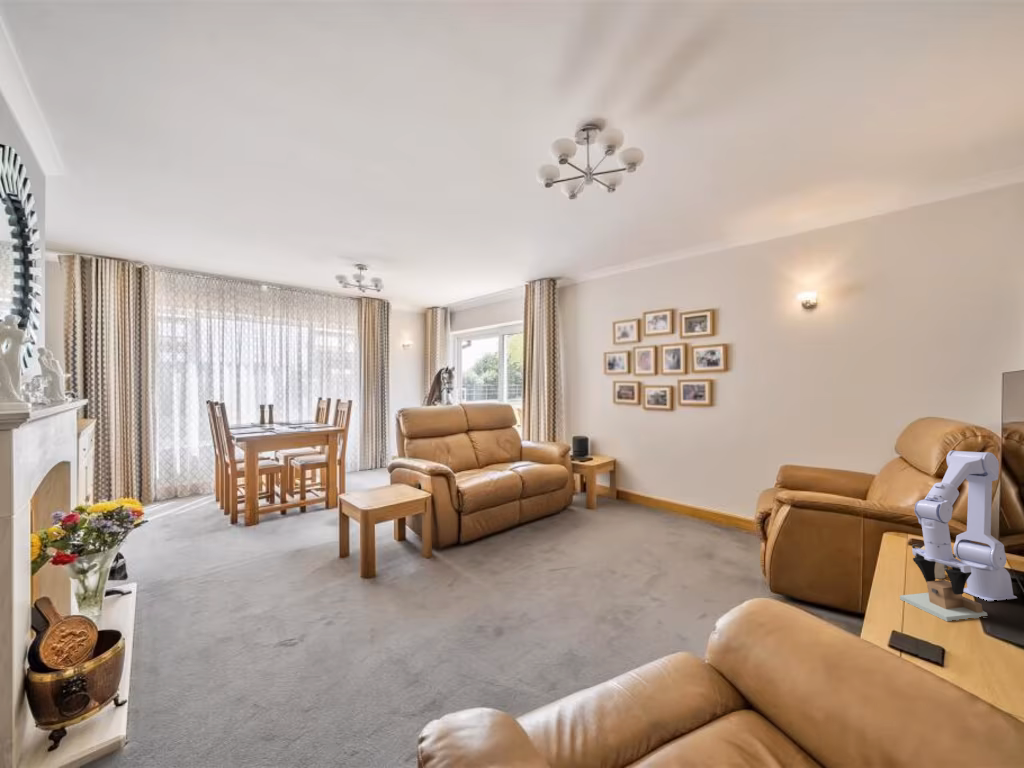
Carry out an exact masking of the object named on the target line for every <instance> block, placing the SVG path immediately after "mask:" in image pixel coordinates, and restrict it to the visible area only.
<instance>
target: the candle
mask: <svg viewBox="0 0 1024 768" xmlns="http://www.w3.org/2000/svg"><path fill="white" fill-rule="evenodd" d="M920 549H923V550H925V544H924V545H923V546H922V548H920ZM945 578H946V571H945V570H944V564H941V563H938V562H936V563H935V580H936V579H939V580H945Z"/></svg>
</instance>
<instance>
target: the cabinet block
mask: <svg viewBox="0 0 1024 768" xmlns="http://www.w3.org/2000/svg"><path fill="white" fill-rule="evenodd" d="M926 584H927V593H929V600H930V602H931V603H933V604H935V605H938V606H940V607H942V608H944V609H952V608H962V607H964V604H963V597H964V596H963V594H958V595H956V594H954V593H953V590H952V585H951V581H950V580H946V579H939V580H935V581H928V582H926ZM962 596H963V597H962Z"/></svg>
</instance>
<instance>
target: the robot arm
mask: <svg viewBox="0 0 1024 768" xmlns="http://www.w3.org/2000/svg"><path fill="white" fill-rule="evenodd" d="M945 459H946V460H945V461H946V465H947V469H946V471H945V473H944V476H943V478H942V480H941V482H935V483H934V484H933V486H931V489H930V490H929V492H927V494H926V496H925V498H924V499H920V500H918V501H917V502H915V504H914V510H913V511H914V514H915V516H916V518H917V520H918V524H919V525H921V528H922V529H921V530H922V536H923V543H924V545H925V550H923V549H919V548H918V547H915V548H914V549H913V548H911V550H912V555H913V556H914V557H912V561H913V562H914V563H915V565H916V566H917V567H918V569H919V570H920V572H921V574H922V576H923V578H924V580H925V582H926V583H927V582H928V581H936V578H935V563H936V562H938V563H941V564H944V565H946V566H948V567H950V568H947V569H945V574H947V576H948V578H949V582H951V585H952V590H953V593H954V594H956V595H958V594H962V595H963V594H964V593H965V594H968V595H970V596H973V597H976V598H978V597H979V598H978V599H981V600H983V599H984V600H983V601H986V600H987V601H986V602H995V601H994V600H997V601H1006V599H1007V600H1014V599H1018V597H1017V596H1016V595H1014V590H1013V583H1012V579H1011V578H1012V577H1011V574H1010V573H1009V571H1008V570H1007V569H1006V568H1005V566H1006V564H1007V554H1006V551H1005V545H1004V544H1003V542H1001V541H999V539H997V538H996V537H994V536H992V535H991V533H992V529H991V527H992V498H993V495H992V493H993V482H994V481H998V480H999V475H1000V474H999V472H1000V471H999V470H1000V469H999V468H1000V462H999V460H998V459H997V456H996V455H995V454H994V453H993V452H988V451H985V452H983V451H981V452H980V451H978V452H977V451H963V450H949V452H948V453H947V455H946V458H945ZM965 480H966V481H967V482H968V484H967V485H968V487H967V488H968V489H967V512H966V513H967V515H966V516H967V519H966V531H964V532H961V533H959V534H957V535H956V537H955V542H954V544H953V547H952V541H951V535H950V534H951V533H950V527H949V522H950V521H951V520H952V518H953V510H954V508H953V506H954V503H955V502H956V500H957V499H958V497H959V495H960V492H959V490H958V488H959V486H961V484H962V483H963V482H964V481H965ZM953 554H954V555H955V556H956V558H954V557H953ZM915 556H917V557H916V558H915ZM965 585H966V587H965Z"/></svg>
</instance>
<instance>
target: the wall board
mask: <svg viewBox="0 0 1024 768" xmlns="http://www.w3.org/2000/svg"><path fill="white" fill-rule="evenodd" d="M962 597H963V604H964V607H962V608H952V609H944V608H942V607H940V606H938V605H935V604H933V603H931V602H930V600H929V593H928V592H922V593H912V594H910V593H909V594H902V595H899V600H901V601H903V602H904V601H905V603H907V604H909V605H911V606H913V607H916V608H917V609H920V610H921V611H924V612H926V613H928V614H930V615H933V616H935V617H936V616H937V618H939V619H941V620H943V621H945V622H953V621H952V620H956V621H960V620H959V619H965V620H968V619H967V618H974V619H980V618H979V617H981V616H988V612H986V611H984V610H983V606H982V603H979V602H977V601H975V600H972V599H970V598H968V597H964V596H963V595H962Z"/></svg>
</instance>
